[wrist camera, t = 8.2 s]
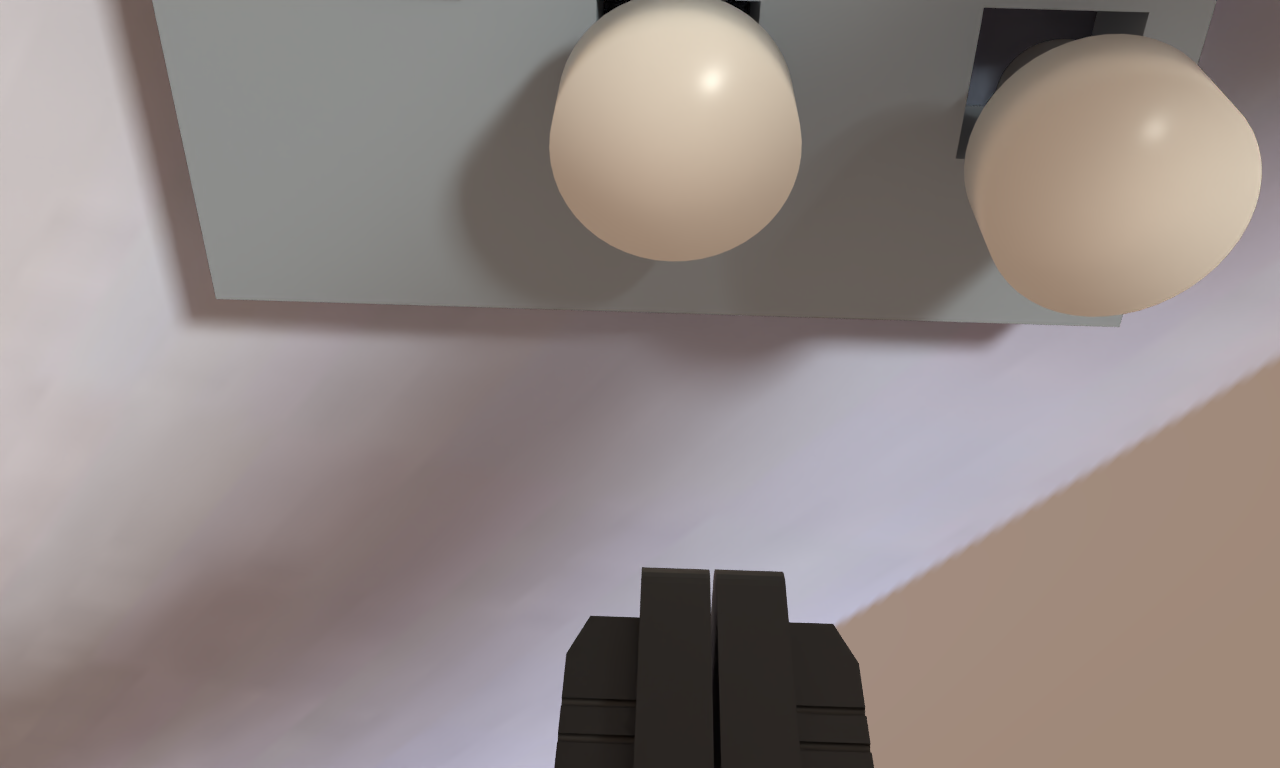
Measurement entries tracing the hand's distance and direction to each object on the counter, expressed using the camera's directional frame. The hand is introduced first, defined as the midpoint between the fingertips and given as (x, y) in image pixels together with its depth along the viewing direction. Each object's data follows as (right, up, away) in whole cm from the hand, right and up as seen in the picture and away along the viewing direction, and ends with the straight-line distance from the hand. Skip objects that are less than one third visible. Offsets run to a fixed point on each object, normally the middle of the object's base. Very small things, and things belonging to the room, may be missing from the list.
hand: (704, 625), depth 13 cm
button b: (+8, +9, +13) cm, 18 cm away
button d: (0, +10, +14) cm, 17 cm away
